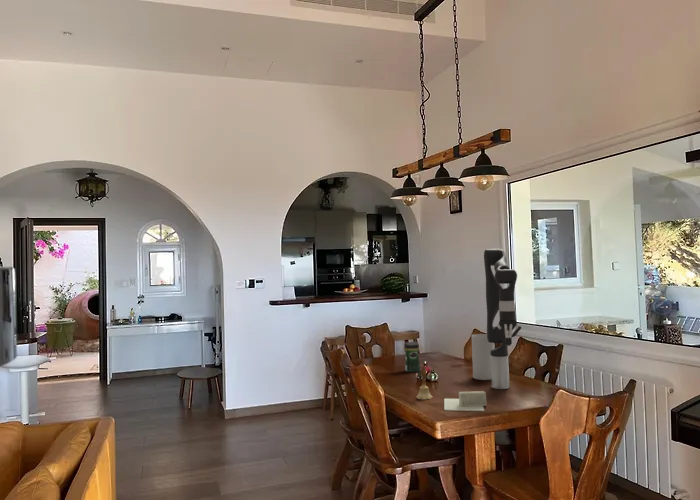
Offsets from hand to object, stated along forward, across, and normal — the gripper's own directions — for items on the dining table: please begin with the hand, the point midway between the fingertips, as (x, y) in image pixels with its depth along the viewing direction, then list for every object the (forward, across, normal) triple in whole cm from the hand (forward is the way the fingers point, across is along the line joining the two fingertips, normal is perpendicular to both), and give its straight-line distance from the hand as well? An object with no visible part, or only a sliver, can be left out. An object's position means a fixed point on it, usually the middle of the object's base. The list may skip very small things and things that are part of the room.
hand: (508, 345), depth 254 cm
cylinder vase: (+27, +9, -51) cm, 58 cm away
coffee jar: (+27, +52, -70) cm, 91 cm away
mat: (+27, +23, +9) cm, 37 cm away
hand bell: (+27, +42, -4) cm, 50 cm away
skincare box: (+24, +12, +10) cm, 28 cm away
